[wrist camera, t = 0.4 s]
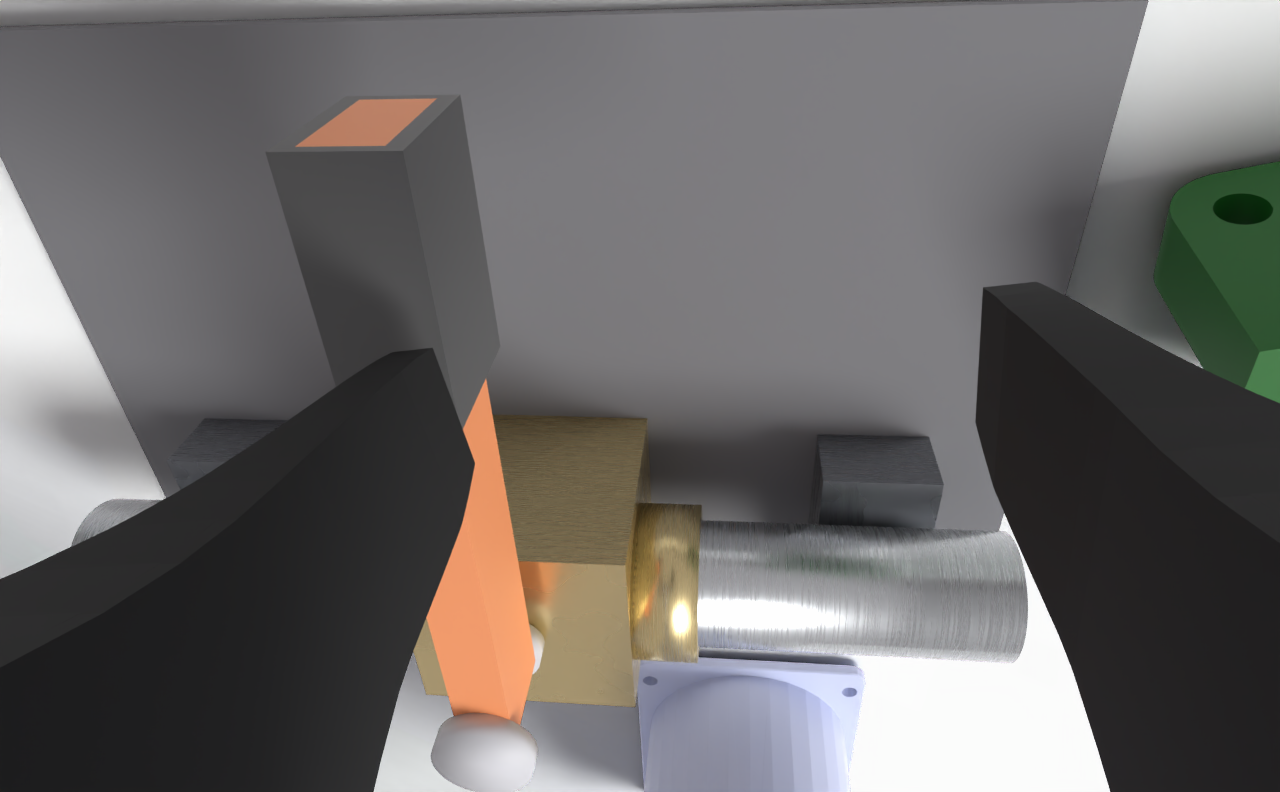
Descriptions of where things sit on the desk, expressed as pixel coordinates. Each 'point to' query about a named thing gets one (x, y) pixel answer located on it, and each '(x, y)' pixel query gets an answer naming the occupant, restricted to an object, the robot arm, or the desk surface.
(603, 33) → the pipe mat
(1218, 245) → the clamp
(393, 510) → the robot arm
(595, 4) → the desk surface
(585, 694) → the pipe and valve
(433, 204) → the lever
